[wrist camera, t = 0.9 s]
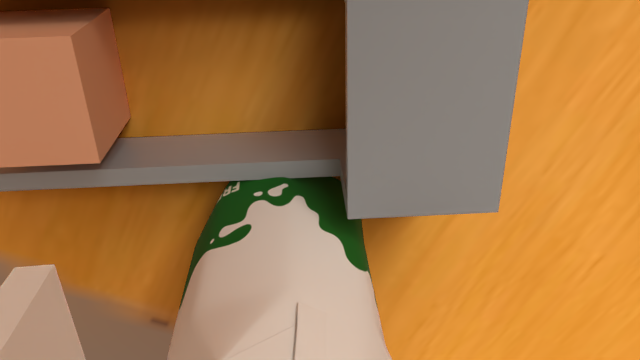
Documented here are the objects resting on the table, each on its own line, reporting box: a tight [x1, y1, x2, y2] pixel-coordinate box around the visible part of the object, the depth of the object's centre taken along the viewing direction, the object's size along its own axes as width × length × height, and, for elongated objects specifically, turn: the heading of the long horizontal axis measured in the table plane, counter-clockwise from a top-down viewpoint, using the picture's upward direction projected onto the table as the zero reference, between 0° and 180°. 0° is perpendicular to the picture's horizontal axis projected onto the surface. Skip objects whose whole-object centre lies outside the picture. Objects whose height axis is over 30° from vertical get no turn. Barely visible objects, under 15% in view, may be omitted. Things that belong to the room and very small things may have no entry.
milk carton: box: [167, 176, 392, 360], centre depth 27 cm, size 9×9×20 cm
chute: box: [0, 0, 529, 219], centre depth 27 cm, size 10×26×8 cm, turn 92°
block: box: [0, 8, 131, 168], centre depth 28 cm, size 6×6×6 cm
